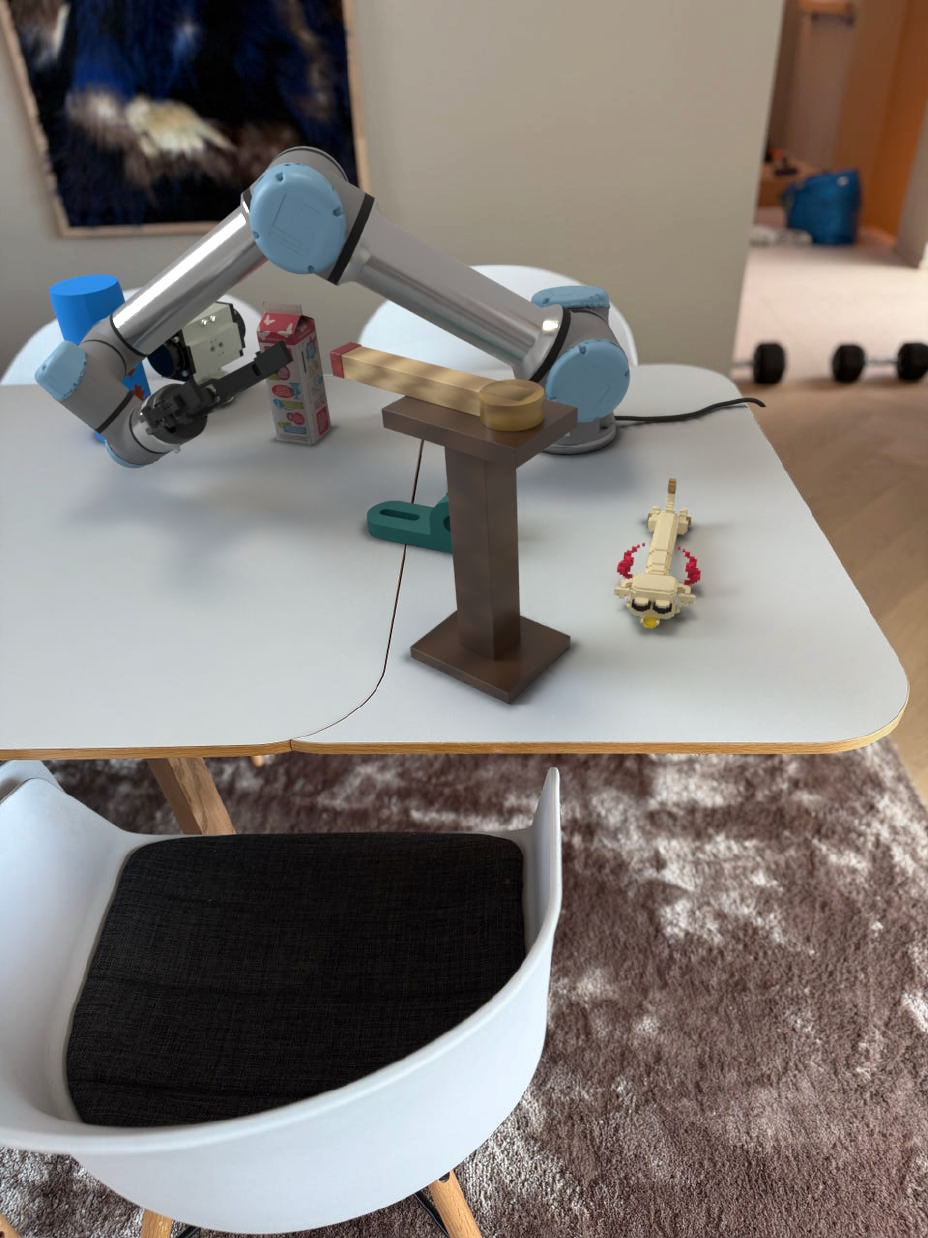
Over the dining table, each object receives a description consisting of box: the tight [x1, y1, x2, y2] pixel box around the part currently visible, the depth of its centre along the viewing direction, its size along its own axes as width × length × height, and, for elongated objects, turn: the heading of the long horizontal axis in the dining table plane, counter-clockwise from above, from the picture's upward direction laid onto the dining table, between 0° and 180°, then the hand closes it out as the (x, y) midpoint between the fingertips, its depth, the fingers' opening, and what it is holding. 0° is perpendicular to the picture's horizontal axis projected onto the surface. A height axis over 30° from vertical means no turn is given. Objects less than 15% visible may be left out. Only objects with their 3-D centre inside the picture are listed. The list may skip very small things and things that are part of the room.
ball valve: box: [146, 300, 247, 405], centre depth 162 cm, size 18×8×18 cm, turn 149°
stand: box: [380, 395, 578, 705], centre depth 96 cm, size 16×12×30 cm
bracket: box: [366, 491, 453, 555], centre depth 124 cm, size 18×7×8 cm, turn 65°
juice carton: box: [255, 301, 332, 446], centre depth 147 cm, size 7×7×22 cm
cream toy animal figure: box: [613, 477, 702, 629], centre depth 112 cm, size 10×9×25 cm
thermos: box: [48, 274, 152, 443], centre depth 152 cm, size 11×11×25 cm
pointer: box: [329, 341, 545, 432], centre depth 89 cm, size 25×6×3 cm, turn 51°
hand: (243, 369), depth 107 cm, fingers open, 13 cm apart
